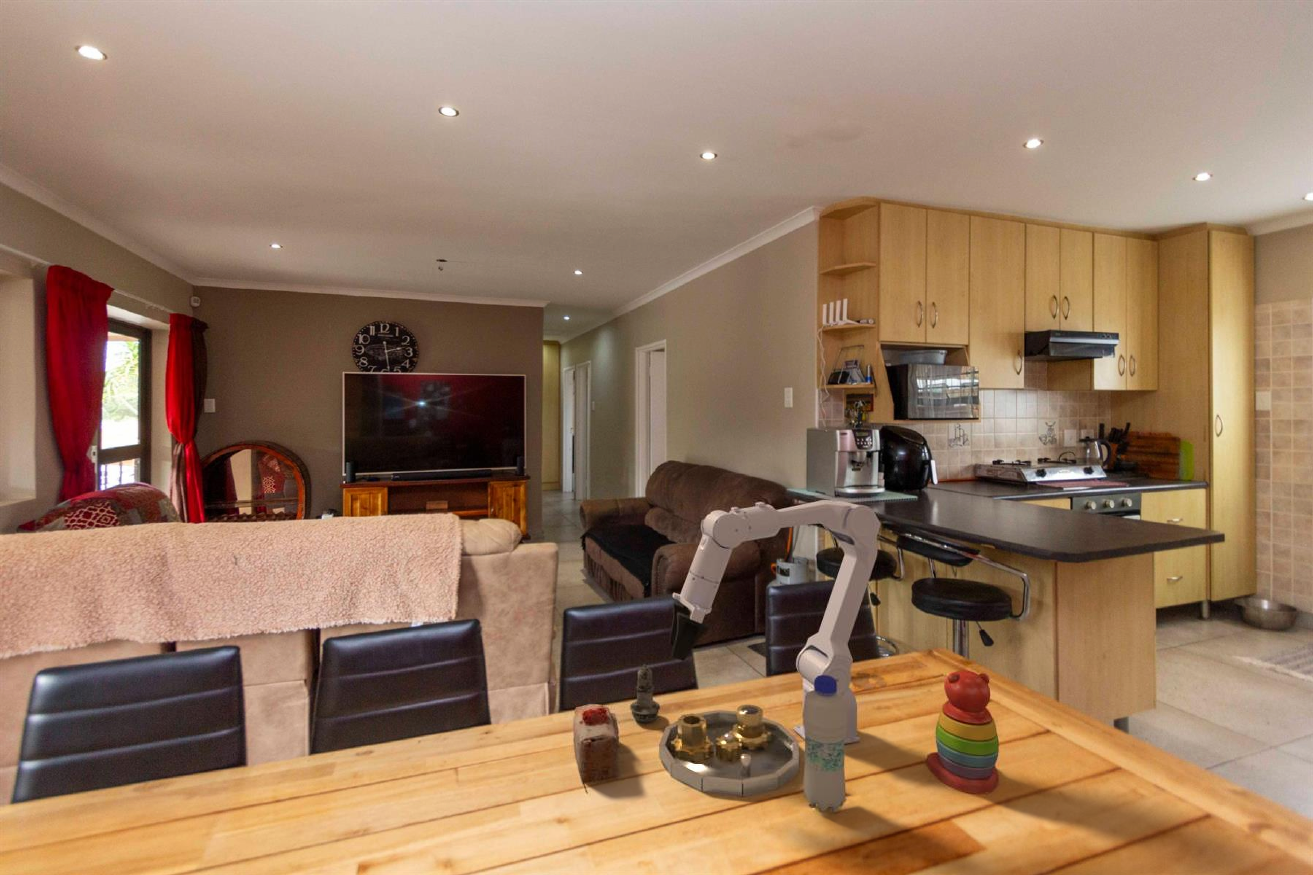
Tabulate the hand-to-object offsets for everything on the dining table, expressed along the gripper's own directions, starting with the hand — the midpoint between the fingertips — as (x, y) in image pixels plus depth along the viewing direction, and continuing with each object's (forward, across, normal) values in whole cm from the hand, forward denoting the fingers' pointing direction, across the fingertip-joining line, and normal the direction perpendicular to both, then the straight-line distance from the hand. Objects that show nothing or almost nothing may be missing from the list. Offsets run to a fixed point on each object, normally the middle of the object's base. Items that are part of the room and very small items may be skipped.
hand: (676, 652), depth 110 cm
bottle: (+11, +11, +28) cm, 32 cm away
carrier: (+15, -2, +16) cm, 21 cm away
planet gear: (+16, -3, +9) cm, 18 cm away
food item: (+23, -2, -6) cm, 24 cm away
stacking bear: (+1, +5, +52) cm, 52 cm away
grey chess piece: (+19, -15, +2) cm, 24 cm away
